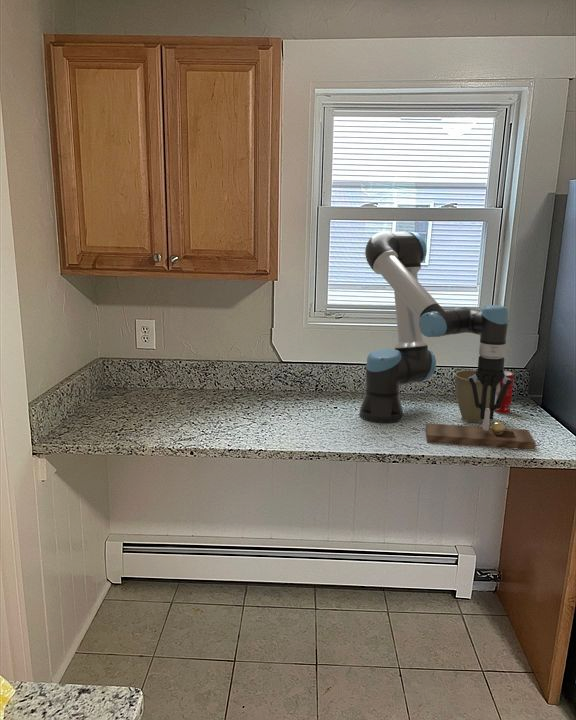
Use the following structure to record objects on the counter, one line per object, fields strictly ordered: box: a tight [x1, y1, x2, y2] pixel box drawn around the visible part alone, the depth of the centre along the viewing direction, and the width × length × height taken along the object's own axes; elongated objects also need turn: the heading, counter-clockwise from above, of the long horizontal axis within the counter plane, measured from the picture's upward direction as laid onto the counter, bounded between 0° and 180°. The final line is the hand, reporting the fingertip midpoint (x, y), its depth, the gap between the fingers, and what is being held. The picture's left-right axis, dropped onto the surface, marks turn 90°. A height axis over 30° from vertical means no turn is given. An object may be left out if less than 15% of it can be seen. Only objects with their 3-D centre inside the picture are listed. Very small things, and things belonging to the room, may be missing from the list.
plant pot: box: [454, 369, 498, 424], centre depth 201 cm, size 15×15×16 cm
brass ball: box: [490, 421, 505, 435], centre depth 182 cm, size 4×4×4 cm
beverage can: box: [494, 370, 515, 415], centre depth 209 cm, size 6×6×15 cm
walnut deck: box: [425, 422, 536, 450], centre depth 184 cm, size 32×11×2 cm, turn 79°
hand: (485, 428), depth 183 cm, fingers closed
